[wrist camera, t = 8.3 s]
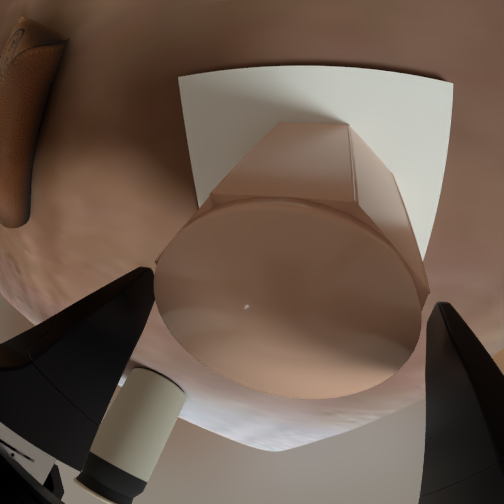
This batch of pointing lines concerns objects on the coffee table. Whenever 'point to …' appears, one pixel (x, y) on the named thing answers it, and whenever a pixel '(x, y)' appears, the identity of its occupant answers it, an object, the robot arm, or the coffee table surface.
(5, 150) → the sunglasses case
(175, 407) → the travel mug
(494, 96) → the coffee table surface
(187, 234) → the terracotta cup
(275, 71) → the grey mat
